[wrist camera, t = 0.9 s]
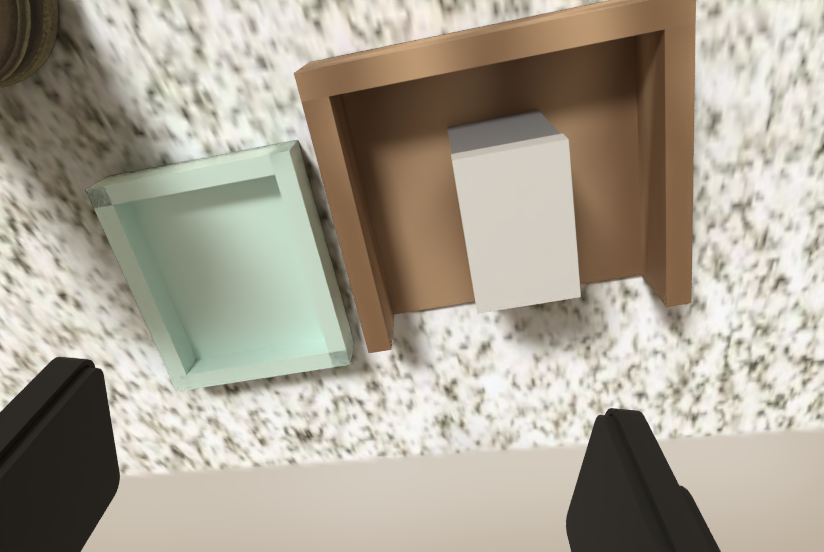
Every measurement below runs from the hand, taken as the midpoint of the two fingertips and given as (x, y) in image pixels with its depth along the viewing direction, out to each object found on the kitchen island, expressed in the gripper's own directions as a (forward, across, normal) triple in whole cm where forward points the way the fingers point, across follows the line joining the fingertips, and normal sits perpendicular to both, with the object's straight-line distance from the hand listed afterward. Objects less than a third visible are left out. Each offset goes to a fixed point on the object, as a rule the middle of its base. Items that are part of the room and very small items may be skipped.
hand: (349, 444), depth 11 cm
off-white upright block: (+21, -6, +1) cm, 22 cm away
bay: (+21, -6, +1) cm, 22 cm away
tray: (+21, +8, +7) cm, 24 cm away
